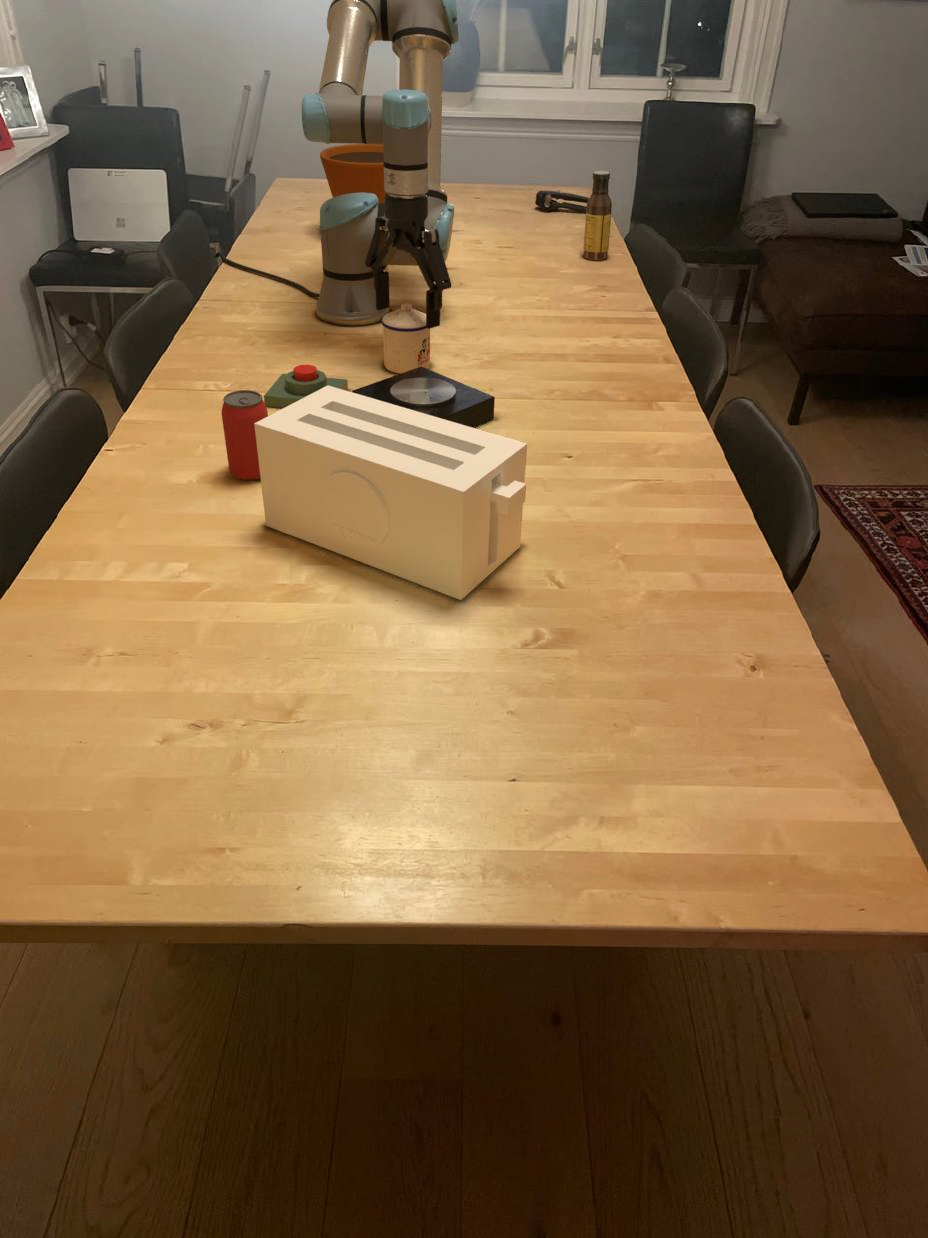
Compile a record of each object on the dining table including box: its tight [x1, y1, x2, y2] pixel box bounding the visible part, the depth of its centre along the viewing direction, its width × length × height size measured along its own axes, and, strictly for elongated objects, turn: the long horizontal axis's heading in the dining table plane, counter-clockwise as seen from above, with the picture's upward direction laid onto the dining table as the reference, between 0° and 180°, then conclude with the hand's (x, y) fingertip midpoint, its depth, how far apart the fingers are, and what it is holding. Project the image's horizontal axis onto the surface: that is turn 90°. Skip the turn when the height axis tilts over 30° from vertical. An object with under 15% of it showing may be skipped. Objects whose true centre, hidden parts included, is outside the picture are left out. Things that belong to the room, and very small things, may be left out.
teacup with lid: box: [381, 302, 431, 374], centre depth 178 cm, size 12×9×12 cm
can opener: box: [534, 189, 590, 214], centre depth 276 cm, size 18×7×6 cm, turn 81°
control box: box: [263, 369, 349, 409], centre depth 167 cm, size 12×10×4 cm
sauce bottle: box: [583, 170, 613, 261], centre depth 235 cm, size 6×6×20 cm
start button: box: [292, 364, 318, 382], centre depth 165 cm, size 4×4×2 cm
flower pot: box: [319, 143, 387, 203], centre depth 246 cm, size 24×24×20 cm
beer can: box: [220, 389, 269, 481], centre depth 142 cm, size 7×7×12 cm
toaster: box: [254, 385, 528, 601], centre depth 126 cm, size 35×16×15 cm, turn 58°
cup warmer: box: [351, 367, 496, 428], centre depth 162 cm, size 18×16×5 cm
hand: (407, 317), depth 176 cm, fingers open, 13 cm apart
